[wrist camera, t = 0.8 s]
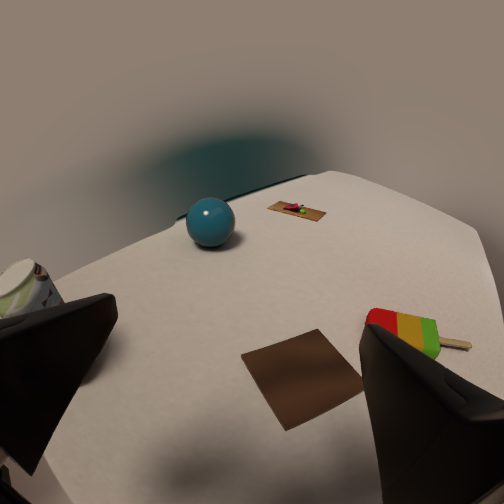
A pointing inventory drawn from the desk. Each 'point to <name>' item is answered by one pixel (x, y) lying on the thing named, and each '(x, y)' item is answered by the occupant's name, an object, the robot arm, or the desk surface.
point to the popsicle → (414, 331)
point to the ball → (210, 222)
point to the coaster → (302, 377)
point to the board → (297, 210)
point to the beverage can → (26, 289)
